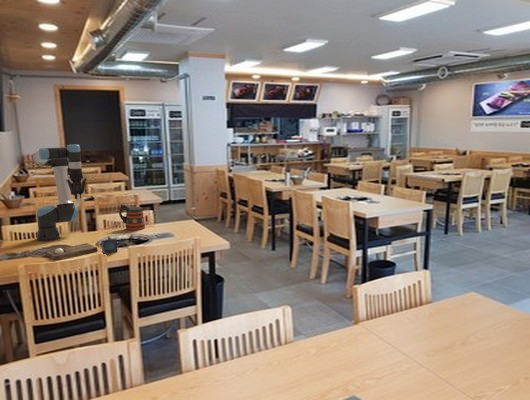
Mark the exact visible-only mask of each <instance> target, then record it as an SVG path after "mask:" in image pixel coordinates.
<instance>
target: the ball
mask: <svg viewBox="0 0 530 400" xmlns="http://www.w3.org/2000/svg"><path fill="white" fill-rule="evenodd" d="M61 248H62V247H59V248H56V250H55V249H54V250H55V253H64V251H63V249H61Z"/></svg>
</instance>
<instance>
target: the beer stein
mask: <svg viewBox="0 0 530 400" xmlns="http://www.w3.org/2000/svg"><path fill="white" fill-rule="evenodd" d="M123 211H126V212H125V213H126V214H125V216H124V215H123V214H122V212H123ZM143 211H144V207H143V206H141V207H140V206H127V205H126V204H120V207H119V213H118V215H119V217H120V219H121V220H122V223H123V224H125V228H126V230H128V231H140V229H141V230H144V229H145V228H146V224H145V220H144V212H143ZM143 228H144V229H143Z"/></svg>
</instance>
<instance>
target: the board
mask: <svg viewBox="0 0 530 400" xmlns="http://www.w3.org/2000/svg"><path fill="white" fill-rule="evenodd" d="M60 248H61V249H63V251H64V253H55V250H56V249H57V248H56V249H55V248H54V249H52V250H46V251H45V256H46V257H48V258H50V259H52V260H54V261H60V260H64V259H69V258H74V257H79V256H83V255H87V254H91V253H96V252H98V247H97V246H95V245H92V244H90V243H89V242H88V243H87V242H85V243H81V244H76V245H71V246H67V247H60Z"/></svg>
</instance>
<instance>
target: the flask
mask: <svg viewBox="0 0 530 400" xmlns="http://www.w3.org/2000/svg"><path fill="white" fill-rule="evenodd" d="M100 241H101V242H100V243H101V253H108V254H113V253H112V252H115V253H118V240H117V238H116V237H110V236H109V235H108V236H107V238H104V239H101V240H100Z"/></svg>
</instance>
